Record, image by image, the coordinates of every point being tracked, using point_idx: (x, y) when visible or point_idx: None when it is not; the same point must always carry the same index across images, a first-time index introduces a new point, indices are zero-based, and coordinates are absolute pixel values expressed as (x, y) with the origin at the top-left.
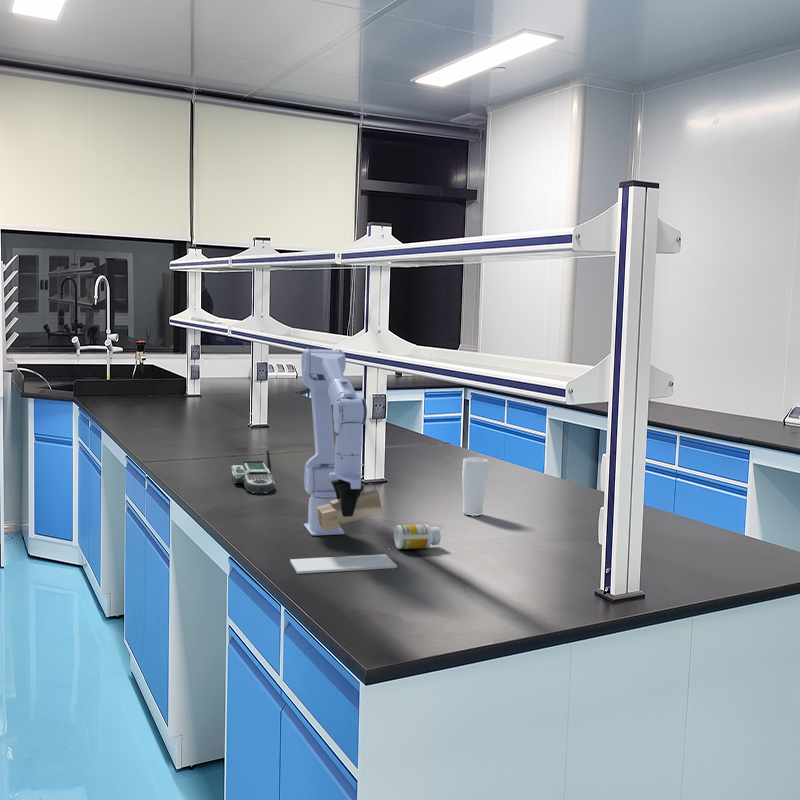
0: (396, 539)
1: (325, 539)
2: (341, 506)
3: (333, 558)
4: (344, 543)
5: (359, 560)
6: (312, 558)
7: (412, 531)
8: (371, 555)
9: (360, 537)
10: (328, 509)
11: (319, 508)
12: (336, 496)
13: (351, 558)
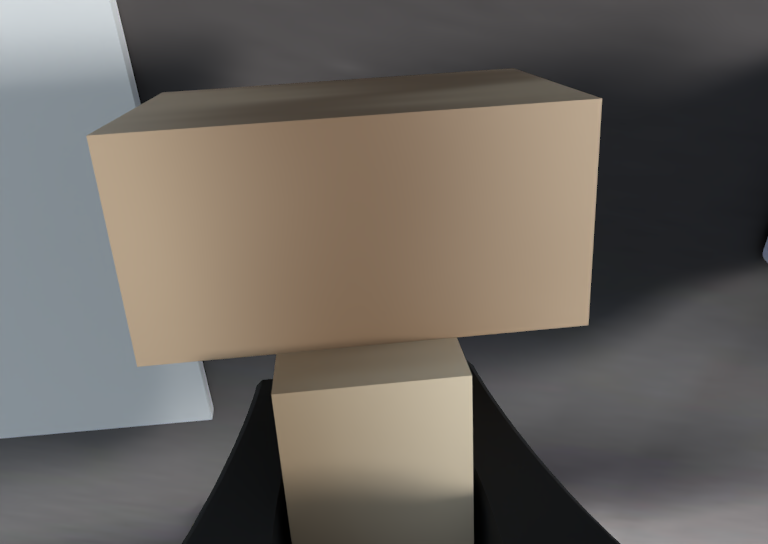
0: None
1: (709, 104)
2: (276, 459)
3: (82, 71)
4: None
5: (50, 258)
6: None
7: None
8: None
9: (658, 339)
10: (271, 268)
11: (457, 137)
12: (569, 504)
13: (97, 212)
